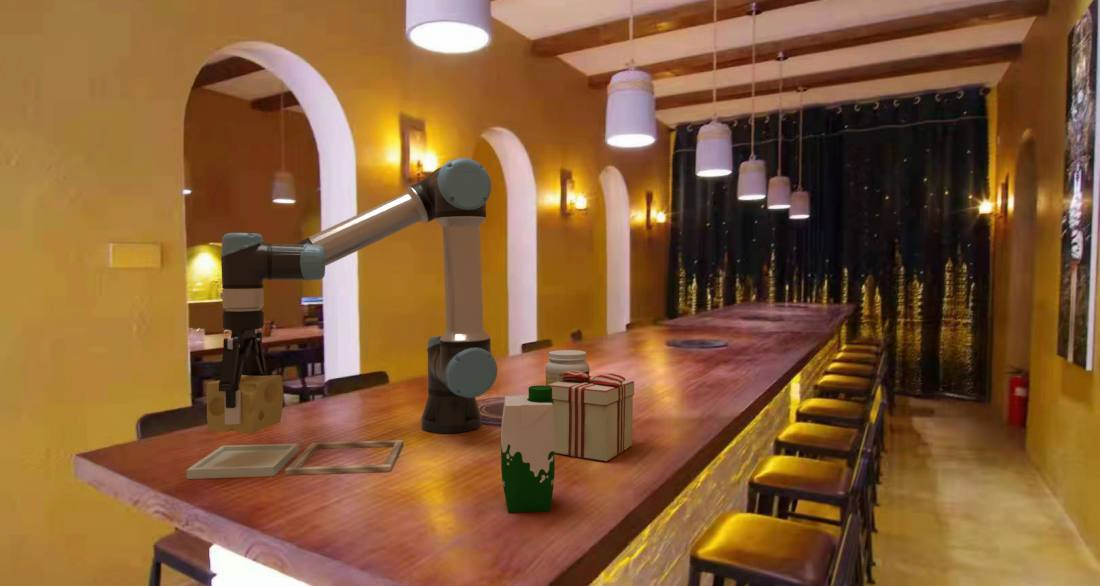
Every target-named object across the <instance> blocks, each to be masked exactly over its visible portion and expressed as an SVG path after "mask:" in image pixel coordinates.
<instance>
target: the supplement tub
mask: <svg viewBox="0 0 1100 586" xmlns="http://www.w3.org/2000/svg"><path fill="white" fill-rule="evenodd" d="M547 357H548V358H547V359H548V360H549V361H548V362H547V363H546V364H545V386H546V385H548V384H552V383H555V382H558V381H561V380H563V379H560V378H563V377H561V376H559V375H560V374H561V373H563V372H565V371H569V370H577V371H581V372H584V373H586V374H588V375H589V376H590V365H589V363H588V362H587V361H586V360H587V352H586V351H585V350H584V351H583V350H577V349H576V350H575V349H563V350H561V349H559V350H552V351H549V352H548V356H547Z"/></svg>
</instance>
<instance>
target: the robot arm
mask: <svg viewBox="0 0 1100 586" xmlns="http://www.w3.org/2000/svg"><path fill="white" fill-rule="evenodd" d="M491 192H492V180H491V177H490V174H489V173H488V171H487V169H486V168H485V167H484V166H483V165H482V164H481V163H479V162H478V161H476V160H474V159H471V158H468V157H459V158H454V159H451V160H450V159H449V161H446V162H445V163H444V164H443V165H442V166H440V167H437V168H436V169H435V170H433V172H431V173H430V174H429V175H427V176H425V178H423V179H421V180H420V181H417V182H416V183H414V184H412V185H410V186H408V187H407V189H406V192H404V193H403V194H400V195H398V196H397V197H396V196H395V197H393V198H392V199H390V200H388V201H384V202H383V203H381V204H379V205H377V206H375V207H372V208H370V209H367V210H366V211H363V212H361V213H359V214H357V215H354V216H352V217H350V218H348V219H346V220H344V221H341V222H339V223H336V224H334V225H332V226H330V227H328V228H326V229H323V230H322V231H319V232H317V233H315V234H312V235H311V236H308V237H307V238H303V239H302V240H300V241H297V242H295V243H267V242H264V238H263V235H262V234H260V233H251V232H250V233H248V232H229V233H225V234H224V235H223V236H222V238H221V254H220V258H221V259H220V261H221V263H220V266H221V285H222V286H221V291H222V293H220V294H219V296H220V298H221V299H222V308H223V309H225V310H224V311H223V312H222V317H221V318H222V329H223V330H227V331H231V334H230V337H227V338H226V337H225V338H224V339H223V343H222V345H223V350H222V351H223V353H222V359H221V360H222V361H221V366H220V374H219V391H224V398H225V424H240V423H241V390H238V387H239V383H240V378H241V375H243V374H242V373H243V371H244V370H243V369H244V365H245V366H246V368H247V369H246V370H247V372H248V375H249V376H268V373H267V372H268V371H267V366H266V365H267V364H266V359H265V353H264V346H263V332H262V331H256V330H260V329H263V327H264V326H265V319H264V318H265V316H264V311H263V310H261V309H262V308H263V307H264V306H265V301H264V298H265V297H264V295H265V293H264V281H267V280H268V281H273V280H274V281H306V282H309V281H314V280H315V281H318V280H322V279H323V278H324V277H325V274H326V266H329V265H330V264H332V263H335V262H337V261H339V260H341V259H343V258H346V257H347V256H350V255H352V254H354V253H356V252H359V251H360V250H362V249H364V248H367V247H369V246H371V245H373V244H375V243H378V242H380V241H381V240H383V239H385V238H388V237H390V236H392V235H394V234H396V233H399V232H401V231H402V230H404V229H407V228H409V227H411V226H413V225H416V224H417V223H420V222H421V223H424V224H427V223H429V222H431V221H434V220H435V221H436V222H437V223H438V224H439V225H440V226H441V229H442V249H443V250H442V251H443V272H444V273H443V275H444V276H443V277H444V278H443V279H444V282H443V283H444V299H445V300H444V301H445V304H444V306H445V333H444V334H442V335H441V336H440V335H437V336H432V337H430V338H429V339H428V340H427V348H426V352H427V398H426V399H427V400H426V403H425V405H424V408H423V412H422V415H421V419H420V420H421V421H420V422H421V425H420V427H421V429H422V430H424V431H427V432H430V433H437V434H456V433H457V434H458V433H464V432H466V433H467V432H470V431H471V432H472V431H474V430H476V429H479V428H480V427H481V426H482V425H483V423H482V421H483V420H482V414H481V411H480V407H479V404H478V402H477V398H478V397H481V396H483V395H484V394H486V393H487V392H488V391H489V390H490V389H491V388H492V387H493V385H494V384H495V382H496V379H497V377H498V365H497V362H496V359H495V357H494V356H493V354H492V349H491V347H492V345H491V344H492V343H491V335H490V334H489V333H487V331H486V330H485V329H484V309H483V308H484V307H483V305H484V304H483V301H484V300H483V279H482V278H483V277H482V274H483V272H482V246H481V244H482V243H481V226H482V225H483V223H484V222H485V221H486V220H487V202H488V200H489V198H490V195H491Z"/></svg>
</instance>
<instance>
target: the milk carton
mask: <svg viewBox="0 0 1100 586" xmlns="http://www.w3.org/2000/svg"><path fill="white" fill-rule="evenodd" d="M501 416H502V418H501V427H500V428H501V429H500V443H501V444H500V462H501V463H500V467H501V468H500V471H501V480H502V487H503V493H504V498H505V503H506V508H507V509H506V510H507V513H510V514H511V513H535V512H538V513H539V512H551V510H552V501H553V496H554V495H553V494H554V492H553V491H554V485H555V470H556V469H555V467H556V463H555V462H556V461H555V460H556V459H555V455H556V453H555V431H554V411H553V398H552V387H550V386H546V385H544V384H543V385H541V384H540V385H539V384H538V385H531V386H529V387H528V394H520V395H511V396H509V395H506V396H504V403H503V410H502V415H501Z"/></svg>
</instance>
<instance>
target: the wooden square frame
mask: <svg viewBox="0 0 1100 586" xmlns="http://www.w3.org/2000/svg"><path fill="white" fill-rule="evenodd" d="M403 446H404V440H403V439H398V440H397V439H394V440H393V439H391V440H390V439H389V440H361V441H360V440H359V441H358V440H357V441H354V440H353V441H321V442H320V441H319V442H318V441H317V442H312V443H310V445H308V446H307V448H306V449H304V451H303V452H301V454H300V455H299V456H298V457H296V459H294V461H293V462H292V463H291V464H290V465H288V466H287V468H285V470H284V472H285V476H297V475H302V476H303V475H325V474H326V475H329V474H331V475H332V474H334V475H335V474H357V473H358V474H361V473H365V474H366V473H387V472H389V473H390V472H391V471H392V469H393V467H394V465H395V463H396V461H397V459H398V457H399V454H400V452H401V451H402V448H403ZM378 447H379V448H385V447H386V448H388V447H389V448H390V447H392V448H391V451H390V452H389V454H388V455H387V458H386V459H385V462H384V463H383V464H361V465H359V464H358V465H357V464H355V465H329V466H327V465H326V466H325V465H324V466H303V465H305V463H306V462H307V461H308V460H309V459H310V458H311V457H312V456H313V455H314V453H315V452H316V451H317V450H319V449H321V450H322V449H351V448H355V449H357V448H358V449H359V448H378ZM302 466H303V467H302Z"/></svg>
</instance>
